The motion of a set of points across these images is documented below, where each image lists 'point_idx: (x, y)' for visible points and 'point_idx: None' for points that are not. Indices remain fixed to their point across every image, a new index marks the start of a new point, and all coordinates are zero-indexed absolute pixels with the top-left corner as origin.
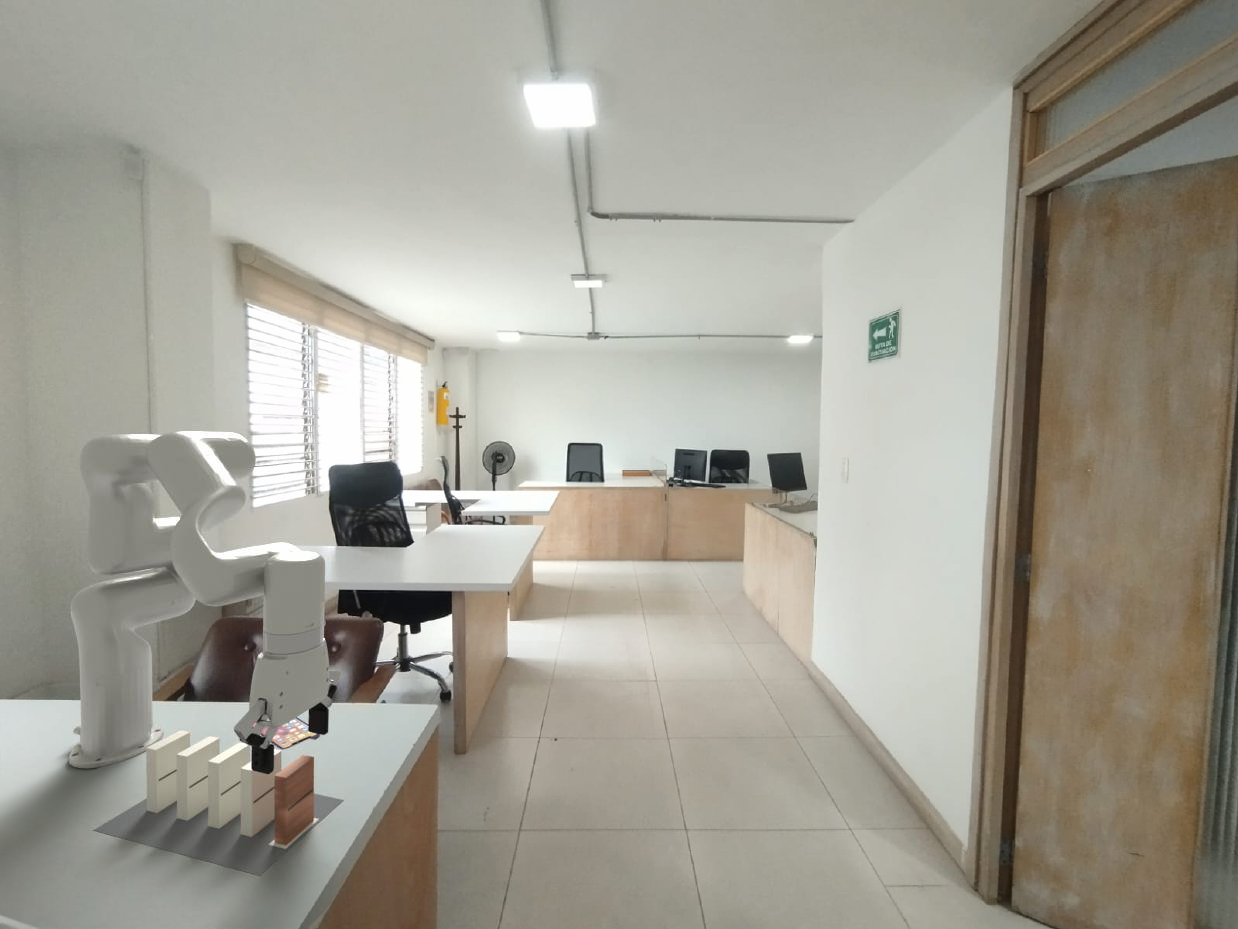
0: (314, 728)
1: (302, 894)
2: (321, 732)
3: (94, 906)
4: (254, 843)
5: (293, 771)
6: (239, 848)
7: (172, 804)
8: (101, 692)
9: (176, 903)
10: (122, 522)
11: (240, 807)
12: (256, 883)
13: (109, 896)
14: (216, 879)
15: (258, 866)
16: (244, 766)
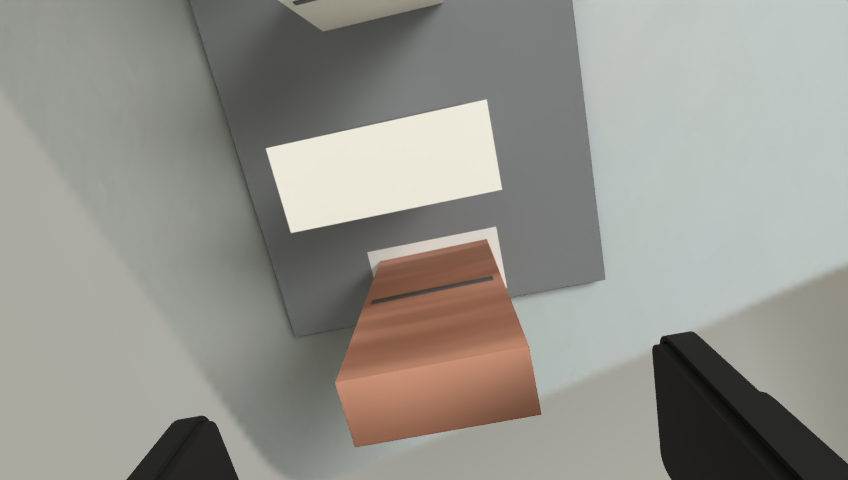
0: (673, 418)
1: (328, 452)
2: (669, 455)
3: (5, 32)
4: None
5: (404, 435)
6: None
7: None
8: None
9: (146, 224)
10: None
11: (402, 6)
12: (287, 335)
13: (38, 27)
14: (236, 233)
15: (308, 306)
16: (286, 154)
